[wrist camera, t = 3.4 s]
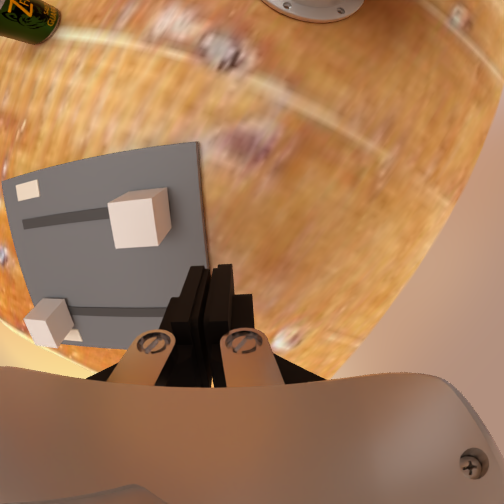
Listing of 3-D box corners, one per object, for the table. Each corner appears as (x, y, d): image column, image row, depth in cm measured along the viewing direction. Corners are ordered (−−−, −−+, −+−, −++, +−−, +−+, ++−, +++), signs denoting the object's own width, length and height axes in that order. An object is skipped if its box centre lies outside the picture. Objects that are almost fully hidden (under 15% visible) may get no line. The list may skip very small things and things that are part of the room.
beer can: (31, 53, 21) (-33, 40, 9) (27, 25, 19) (-31, 7, 7) (64, 28, 20) (2, 2, 9) (59, 1, 18) (3, -29, 7)
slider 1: (64, 298, 31) (45, 320, 26) (74, 325, 32) (57, 348, 28) (42, 298, 31) (23, 318, 26) (52, 323, 32) (35, 345, 27)
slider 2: (166, 187, 26) (151, 198, 22) (171, 227, 28) (158, 246, 23) (128, 191, 26) (107, 203, 22) (134, 230, 28) (115, 248, 23)
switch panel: (198, 141, 27) (195, 141, 25) (218, 343, 36) (218, 351, 34) (8, 179, 26) (0, 181, 25) (54, 336, 35) (49, 343, 34)
